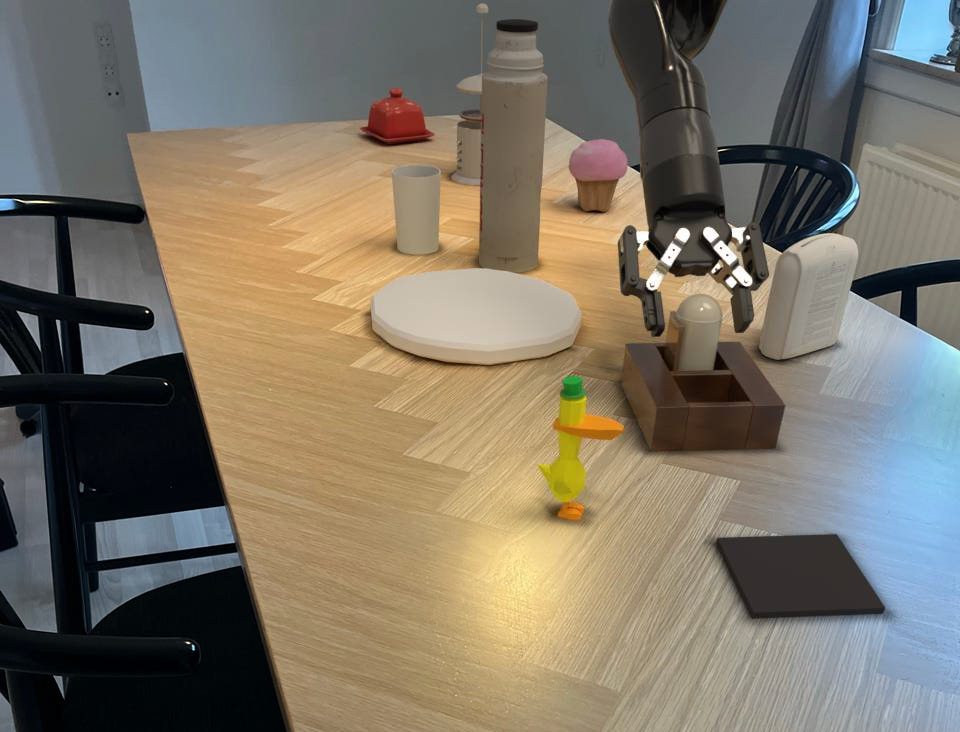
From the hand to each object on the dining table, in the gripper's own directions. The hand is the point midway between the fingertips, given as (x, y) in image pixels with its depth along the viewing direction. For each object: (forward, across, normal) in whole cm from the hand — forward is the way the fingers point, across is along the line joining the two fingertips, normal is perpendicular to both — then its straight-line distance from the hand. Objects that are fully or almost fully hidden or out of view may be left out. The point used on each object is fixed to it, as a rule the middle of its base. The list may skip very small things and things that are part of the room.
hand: (701, 331), depth 94 cm
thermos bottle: (-26, -10, +37) cm, 47 cm away
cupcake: (-43, +8, +54) cm, 69 cm away
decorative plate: (-12, -18, +23) cm, 31 cm away
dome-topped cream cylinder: (+4, 0, +6) cm, 8 cm away
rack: (+7, 0, +4) cm, 8 cm away
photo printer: (-3, +17, +14) cm, 22 cm away
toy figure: (+19, -17, -8) cm, 26 cm away
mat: (+27, -2, -16) cm, 31 cm away
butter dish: (-78, -18, +89) cm, 120 cm away
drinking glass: (-32, -22, +43) cm, 58 cm away
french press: (-58, -6, +69) cm, 90 cm away
